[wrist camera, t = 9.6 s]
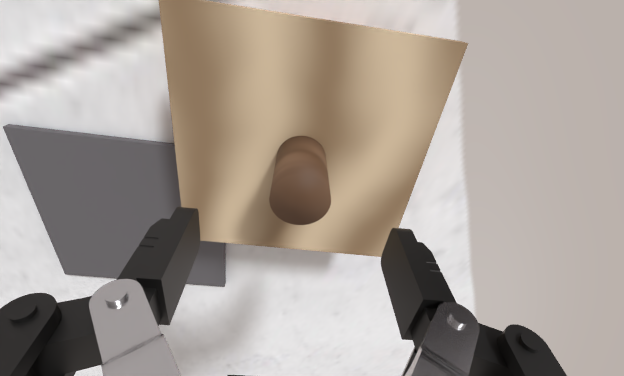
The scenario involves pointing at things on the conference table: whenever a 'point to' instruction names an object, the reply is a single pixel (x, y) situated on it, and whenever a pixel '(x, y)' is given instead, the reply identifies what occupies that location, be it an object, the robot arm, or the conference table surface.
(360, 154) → the oak lid
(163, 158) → the rubber mat
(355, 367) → the conference table surface
